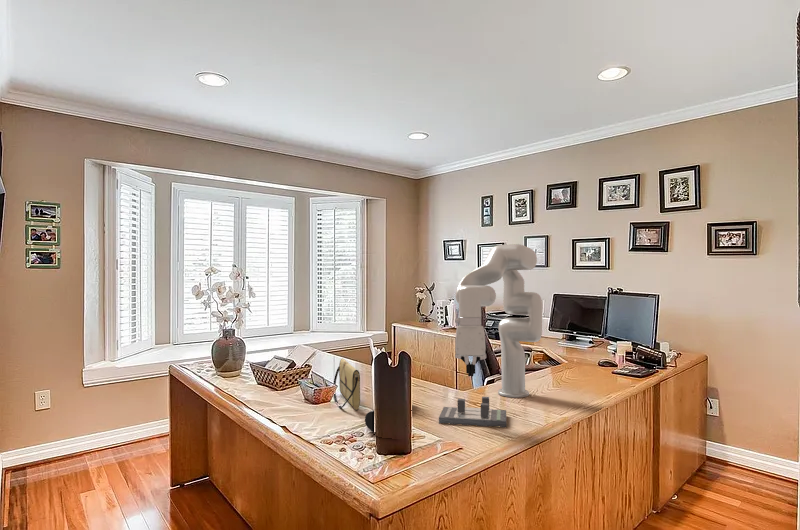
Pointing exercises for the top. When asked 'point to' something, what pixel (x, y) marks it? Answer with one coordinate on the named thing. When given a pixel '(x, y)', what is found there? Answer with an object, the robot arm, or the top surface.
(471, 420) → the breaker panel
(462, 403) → the handle
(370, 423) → the end cap
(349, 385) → the clutch purse
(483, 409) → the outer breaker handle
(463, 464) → the top surface
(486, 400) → the handle
